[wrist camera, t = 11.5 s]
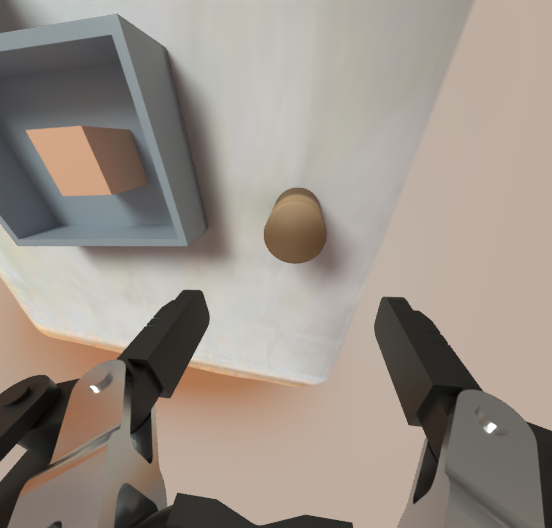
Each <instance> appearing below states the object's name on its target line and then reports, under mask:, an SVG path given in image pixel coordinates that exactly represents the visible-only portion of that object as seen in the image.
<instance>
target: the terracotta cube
mask: <svg viewBox="0 0 552 528" xmlns="http://www.w3.org/2000/svg"><path fill="white" fill-rule="evenodd" d="M25 131H26V132H27V134H28V136H29V138H30V139H31V141H32V143H33V145H34V146H35V148H36V150H37V152H38V153H39V155H40V157H41V159H42V160H43V162H44V164H45V166H46V168H47V169H48V171H49V173H50V175H51V176H52V178H53V180H54V182H55V183H56V185H57V187H58V189H59V190H60V192H61V194H62V196H85V195H113V194H117V193H120V192H124V191H128V190H132V189H135V188H139V187H143V186H147V185H149V183H148V180H147V177H146V174H145V171H144V169H143V166H142V163H141V160H140V157H139V154H138V151H137V148H136V145H135V143H134V140H133V137H132V134H131V131H130V130H128V129H115V128H103V127H90V126H72V127H59V128H46V129H33V130H25Z"/></svg>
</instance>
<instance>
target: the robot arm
mask: <svg viewBox="0 0 552 528" xmlns="http://www.w3.org/2000/svg"><path fill="white" fill-rule="evenodd" d="M209 320H210V316H209V311H208V308H207V305H206V301H205V298H204V295H203V292H202V291H201V290H183V291H182V292H181V293H180V294H179V296H178V297H177V298H176V299H175V300H172V301H171V302H169V303H168V304H166V305H165V306H163V307H162V308H161V309H160V310H159V311H158V312H157V314H156V315H155V316H154V318H153V319H151V320H150V322H149V323H148V324H147V326H145V327H144V328H143V330H142V331H141V332H140V333H139V334H138V335H137V337H136V338H135V339H134V340H133V341H132V342H131V343H130V345H129V346H128V347H127V348H126V349H125V350H124V351H123V353H122V354H121V355H120V356H119V357H118V358H117V359H116V360H110V361H106V362H103V363H101V364H99V365H97V366H96V367H94V368H92V369H91V370H89V371H88V372H87V373H85V374H84V375H83V376H82V377H81V378H80V379H75V380H71V381H66V382H62V383H58V384H55V383H54V382H53V381H52V380H51V379H50V378H49V377H48V376H46V375H37V376H32V377H29V378H27V379H25V380H22V381H20V382H18V383H16V384H15V385H13V386H11V387H10V388H8V389H7V390H5V391H4V392H2V393H1V394H0V461H1V460H2V459H3V458H4V457H5V456H6V455H7V454H8V453H9V452H10V450H11V449H12V448H13V447H14V446H15V445H16V444H18V445H20V446H22V447H24V448H25V449H27V451H26V453H25V454H24V455H23V456H22V457H21V459H20V460H19V461H18V462H17V463H16V465H14V467H13V468H12V469H11V470H10V471H9V472H8V474H7V475H6V476H5V477H4V478H3V479H2V481H1V482H0V528H353V524H352V523H351V522H345V521H339V520H333V519H327V518H321V517H316V516H310V515H303V516H299V517H294V518H291V519H287V520H282V521H278V522H274V523H270V524H266V525H261V526H259V525H255V524H253V523H251V522H250V521H248V520H247V519H245V518H244V517H242V516H241V515H239V514H238V513H236V512H235V511H233V510H232V509H230V508H229V507H227V506H226V505H224V504H223V503H221V502H220V501H218V500H217V499H211V498H205V497H199V496H193V495H187V494H181V493H177V495H176V498H175V501H174V504H173V505H171V506H168V507H167V498H166V489H165V484H164V480H163V477H162V474H161V472H160V468H159V461H158V443H157V425H156V409H155V406H154V404H155V403H156V401H157V399H158V397H164V398H170V397H171V396H172V394H173V392H174V390H175V388H176V386H177V385H178V383H179V381H180V379H181V377H182V375H183V373H184V371H185V369H186V367H187V366H188V364H189V362H190V360H191V358H192V356H193V354H194V352H195V350H196V348H197V347H198V345H199V343H200V341H201V339H202V337H203V335H204V333H205V331H206V329H207V327H208V325H209ZM374 330H375V336H376V339H377V342H378V344H379V347H380V350H381V352H382V355H383V358H384V360H385V363H386V366H387V369H388V371H389V374H390V377H391V379H392V382H393V385H394V387H395V390H396V393H397V395H398V398H399V400H400V403H401V406H402V408H403V411H404V414H405V417H406V419H407V422H408V425H412V426H421V427H422V428H423V430H424V432H425V435H426V439H425V441H424V444H423V448H422V452H421V456H420V459H419V463H418V467H417V470H416V474H415V478H414V482H413V485H412V489H411V493H410V497H409V500H408V503H407V506H406V509H405V511H404V513H403V515H402V517H401V519H400V521H399V524H398V527H397V528H552V431H551V430H548V429H545V428H542V427H539V426H537V425H534V424H531V423H529V422H526V421H525V420H524V419H523V418H522V417H521V416H520V415H519V414H518V413H517V412H516V411H515V410H514V409H512V408H511V407H510V406H509V405H507V404H506V403H504V402H503V401H502V400H500V399H498V398H496V397H495V396H492V395H490V394H488V393H485V392H484V391H483V390H482V389H481V388H480V387H479V385H478V384H477V382H476V381H475V380H474V378H473V377H472V376H471V374H470V373H469V371H468V370H467V369H466V367H465V366H464V364H463V363H462V362H461V360H460V359H459V358H458V356H457V355H456V353H455V352H454V351H453V349H452V348H451V347H450V345H448V343H447V341H446V340H445V338H444V337H443V336H442V335H441V334H440V331H439V330H438V329H437V328H436V326H435V325H434V323H433V322H432V321H431V320H430V319H429V318H428V317H426V316H425V315H424V314H422V313H421V312H420V311H414V310H413V309H412V308H411V306H410V305H409V303H408V302H407V300H406V299H405V298H403V297H383V298H382V299H381V302H380V305H379V309H378V313H377V316H376V320H375V325H374Z"/></svg>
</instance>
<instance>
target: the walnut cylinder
mask: <svg viewBox="0 0 552 528" xmlns="http://www.w3.org/2000/svg"><path fill="white" fill-rule="evenodd" d="M264 240H265V244H266V246H267V248H268V250H269V251H270V252H271V253H272V254H273V255H274V256H275V257H276V258H278V259H279V260H281V261H284V262H287V263H294V264H296V263H303V262H307V261H309V260H311V259H313V258H314V257H316V256H317V255H318V254H319V253H320V252H321V250H322V249H323V247H324V245H325V242H326V227H325V224H324V220H323V216H322V212H321V208H320V205H319V201H318V199H317V198H316V196H315V195H314V194H313V193H312V192H310V191H309V190H307V189H304V188H292V189H289V190H287V191H285V192H284V193H282V194H281V195H280V197H279V198H278V199H277V201H276V204H275V206H274V208H273V210H272V212H271V214H270V216H269V219H268V221H267V223H266V225H265V229H264Z"/></svg>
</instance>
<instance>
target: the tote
mask: <svg viewBox="0 0 552 528" xmlns="http://www.w3.org/2000/svg"><path fill="white" fill-rule="evenodd" d="M72 126H90V127H103V128H115V129H128V130H130V131H131V134H132V137H133V140H134V143H135V145H136V148H137V151H138V154H139V157H140V160H141V163H142V166H143V169H144V171H145V174H146V177H147V180H148V183H149V185H147V186H143V187H139V188H135V189H132V190H128V191H124V192H120V193H117V194H113V195H85V196H62V194H61V192H60V190H59V189H58V187H57V185H56V183H55V182H54V180H53V178H52V176H51V175H50V173H49V171H48V169H47V168H46V166H45V164H44V162H43V160H42V159H41V157H40V155H39V153H38V152H37V150H36V148H35V146H34V145H33V143H32V141H31V139H30V138H29V136H28V134H27V132H26V131H25V130H33V129H46V128H59V127H72ZM0 224H1V225H2V226H3V228H4V229H5V230H6V231H7V233H8V234H9V235H10V237H11V238H12V239H13V240H14V242H15V243H16V244H17V246H189V245H190V244H191V243H192V242H193V241H195V240H196V239H197V238H198V237H199V236H200V235H201V234H202V233H204V232H205V231H206V230H207V229H208V225H207V221H206V217H205V212H204V208H203V204H202V200H201V196H200V191H199V187H198V183H197V179H196V174H195V170H194V166H193V162H192V158H191V153H190V149H189V145H188V141H187V137H186V132H185V128H184V124H183V120H182V115H181V111H180V107H179V103H178V99H177V94H176V90H175V86H174V82H173V78H172V73H171V69H170V65H169V61H168V57H167V52H166V48H165V47H164V46H163V45H161V44H160V43H158V42H157V41H156V40H154V39H153V38H151V37H150V36H148V35H147V34H145V33H144V32H143V31H141V30H140V29H138V28H137V27H135V26H134V25H133V24H131V23H130V22H128V21H127V20H125V19H124V18H122V17H121V16H120V15H118V14H113V15H107V16H101V17H95V18H89V19H83V20H77V21H70V22H64V23H58V24H52V25H46V26H40V27H34V28H28V29H22V30H16V31H10V32H4V33H0Z"/></svg>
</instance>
